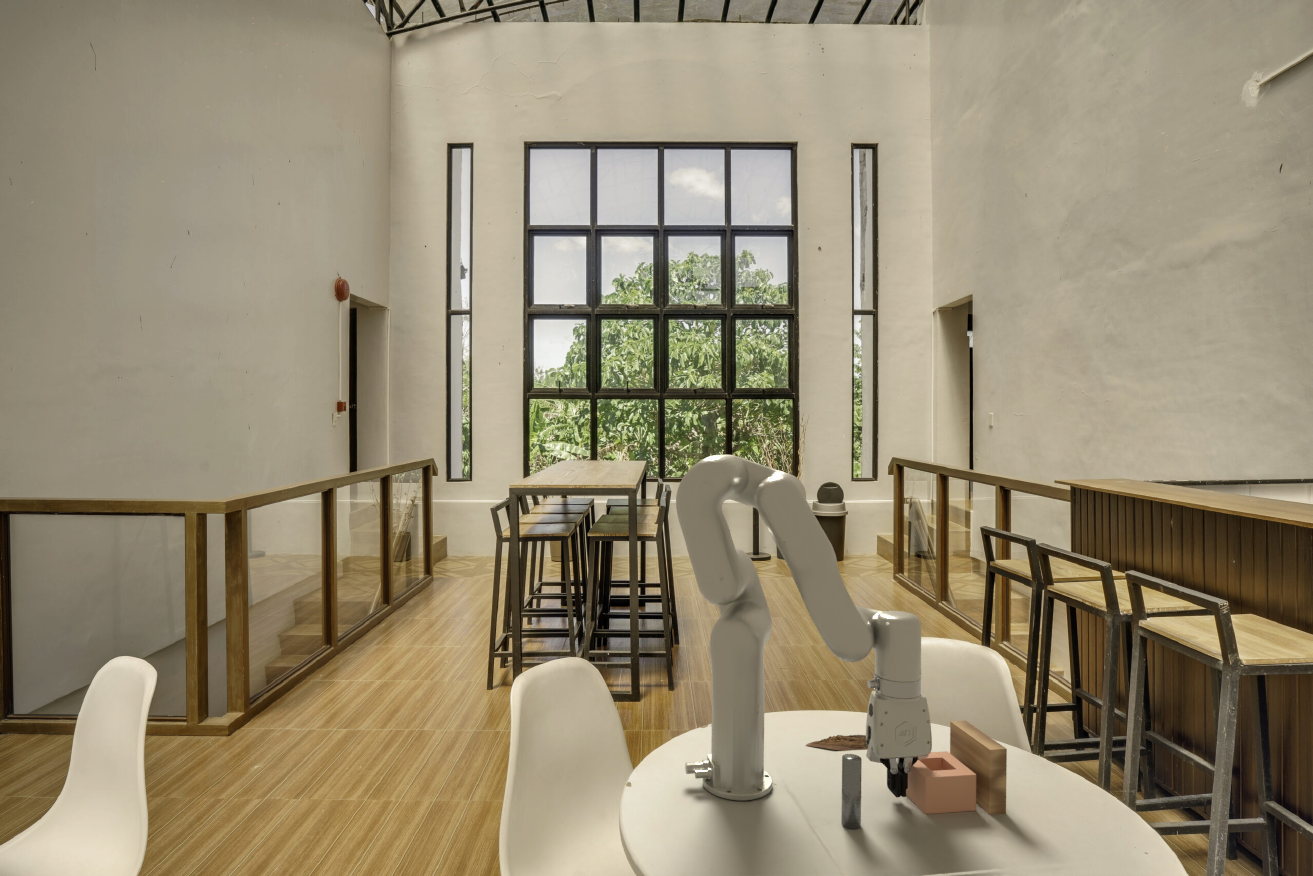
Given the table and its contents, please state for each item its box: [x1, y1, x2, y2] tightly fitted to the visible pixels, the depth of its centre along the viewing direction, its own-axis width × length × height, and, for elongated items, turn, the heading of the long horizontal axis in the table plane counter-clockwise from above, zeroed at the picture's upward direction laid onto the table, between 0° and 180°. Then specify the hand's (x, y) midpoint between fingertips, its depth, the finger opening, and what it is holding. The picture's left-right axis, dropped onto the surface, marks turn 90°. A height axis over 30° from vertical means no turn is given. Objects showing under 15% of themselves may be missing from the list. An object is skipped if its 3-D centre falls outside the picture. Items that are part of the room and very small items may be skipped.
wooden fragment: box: [805, 734, 868, 752], centre depth 149 cm, size 26×11×1 cm, turn 81°
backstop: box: [949, 720, 1008, 816], centre depth 126 cm, size 3×12×11 cm, turn 8°
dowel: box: [840, 753, 862, 831], centre depth 117 cm, size 3×3×12 cm
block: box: [906, 750, 977, 815], centre depth 125 cm, size 9×9×6 cm
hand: (897, 793), depth 124 cm, fingers closed
